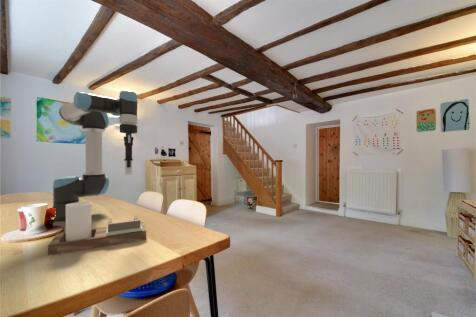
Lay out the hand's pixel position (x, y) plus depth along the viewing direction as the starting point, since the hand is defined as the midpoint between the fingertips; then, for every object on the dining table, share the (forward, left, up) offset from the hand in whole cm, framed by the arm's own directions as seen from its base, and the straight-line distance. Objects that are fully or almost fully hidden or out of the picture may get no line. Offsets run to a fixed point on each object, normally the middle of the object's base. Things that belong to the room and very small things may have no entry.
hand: (128, 174), depth 103 cm
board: (+3, -10, -26) cm, 28 cm away
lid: (+10, -2, -23) cm, 25 cm away
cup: (+10, -18, -27) cm, 34 cm away
